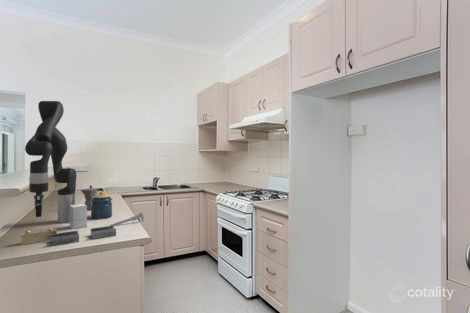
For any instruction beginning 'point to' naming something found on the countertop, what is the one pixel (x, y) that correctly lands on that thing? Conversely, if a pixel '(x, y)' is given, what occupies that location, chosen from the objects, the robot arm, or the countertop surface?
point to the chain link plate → (37, 236)
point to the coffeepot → (90, 195)
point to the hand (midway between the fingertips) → (38, 214)
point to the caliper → (129, 219)
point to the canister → (101, 206)
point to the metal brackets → (74, 236)
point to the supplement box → (78, 216)
